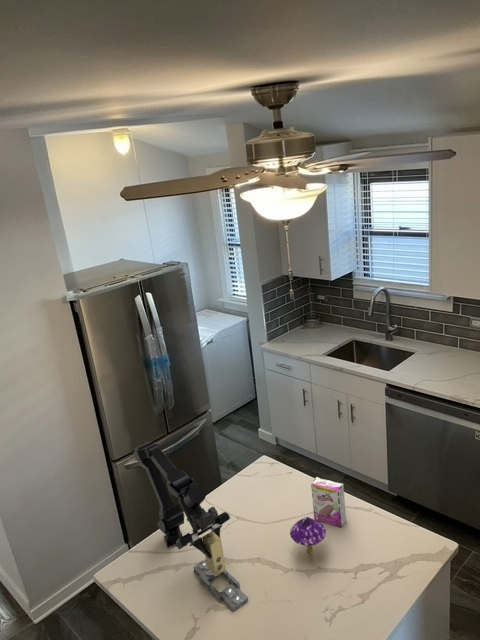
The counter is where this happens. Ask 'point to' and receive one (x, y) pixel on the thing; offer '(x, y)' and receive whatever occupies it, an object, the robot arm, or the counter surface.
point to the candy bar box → (328, 502)
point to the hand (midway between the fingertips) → (216, 554)
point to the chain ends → (230, 594)
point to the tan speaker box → (214, 553)
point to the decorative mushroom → (308, 533)
